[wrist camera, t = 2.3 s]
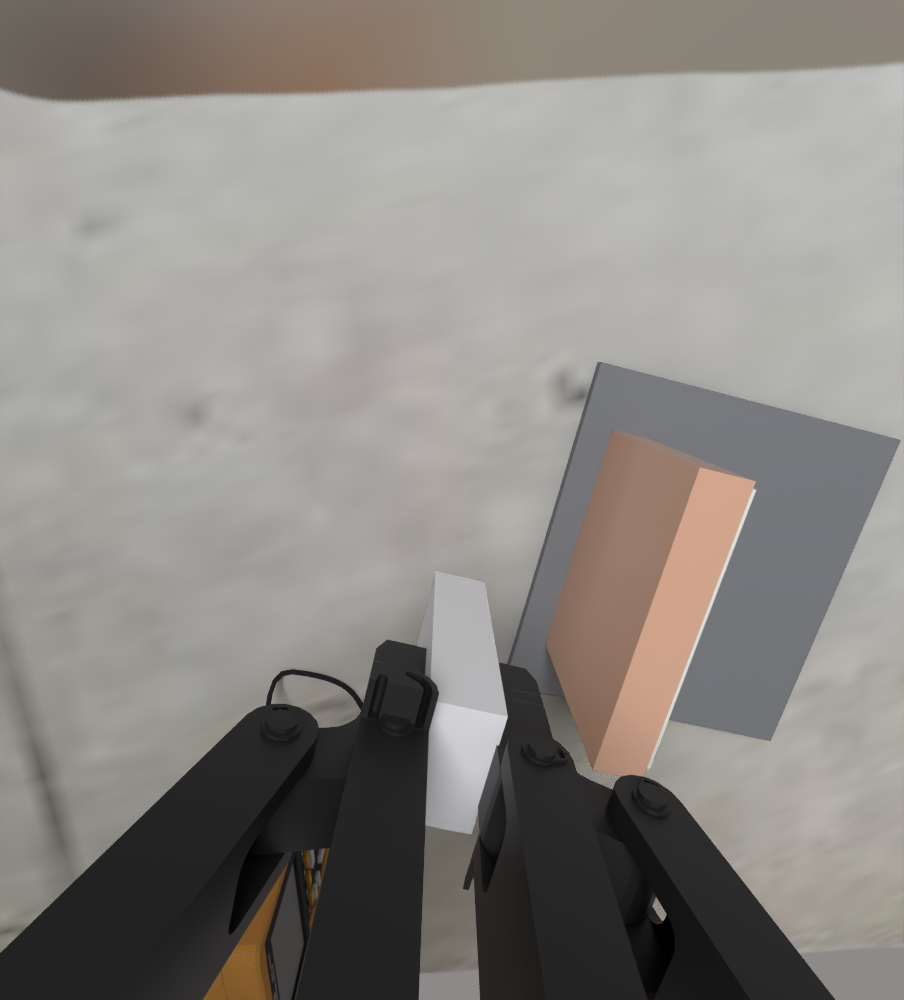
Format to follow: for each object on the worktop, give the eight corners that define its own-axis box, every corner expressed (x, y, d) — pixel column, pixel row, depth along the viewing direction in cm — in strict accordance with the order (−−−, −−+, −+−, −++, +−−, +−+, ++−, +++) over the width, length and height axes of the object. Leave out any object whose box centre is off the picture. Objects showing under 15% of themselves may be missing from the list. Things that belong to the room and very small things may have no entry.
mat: (503, 679, 33) (504, 685, 32) (597, 362, 29) (601, 362, 28) (765, 734, 34) (770, 740, 34) (891, 438, 30) (900, 440, 29)
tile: (545, 642, 32) (592, 769, 22) (611, 429, 29) (700, 467, 19) (585, 651, 32) (649, 781, 22) (655, 440, 29) (764, 483, 19)
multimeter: (459, 872, 36) (485, 1474, 17) (298, 881, 36) (136, 1500, 17) (448, 659, 32) (464, 1112, 13) (269, 669, 32) (18, 1140, 13)
